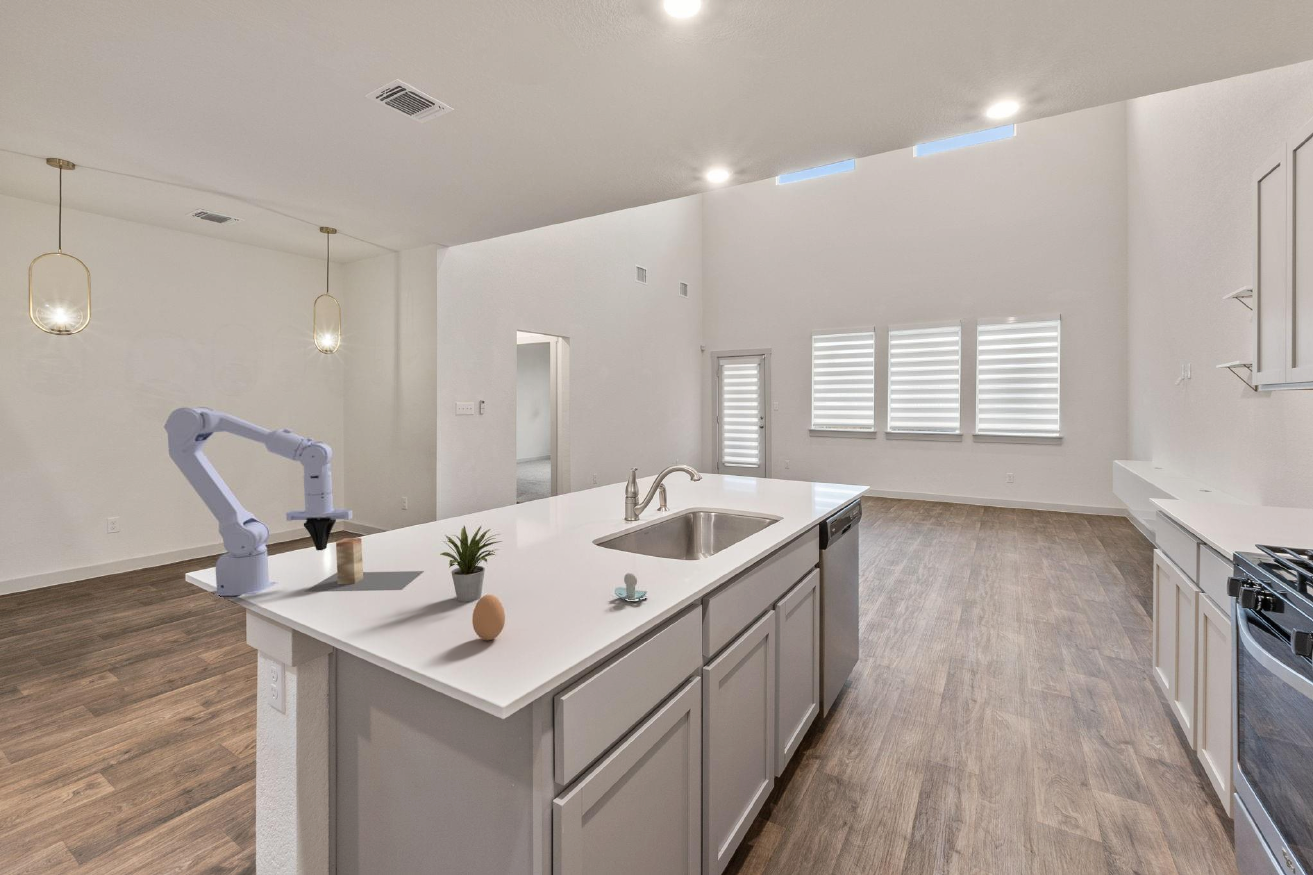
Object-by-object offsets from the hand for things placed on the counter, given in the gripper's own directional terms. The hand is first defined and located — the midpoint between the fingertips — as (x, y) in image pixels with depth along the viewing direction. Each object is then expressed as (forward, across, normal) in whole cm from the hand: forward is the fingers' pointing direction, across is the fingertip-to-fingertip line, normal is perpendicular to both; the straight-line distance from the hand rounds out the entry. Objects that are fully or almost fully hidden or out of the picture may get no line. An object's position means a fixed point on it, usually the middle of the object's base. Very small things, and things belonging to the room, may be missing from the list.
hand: (321, 549), depth 135 cm
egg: (+9, -48, +34) cm, 60 cm away
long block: (+8, -6, 0) cm, 10 cm away
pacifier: (+9, -75, +14) cm, 77 cm away
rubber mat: (+8, -10, 0) cm, 13 cm away
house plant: (+9, -38, +13) cm, 42 cm away
